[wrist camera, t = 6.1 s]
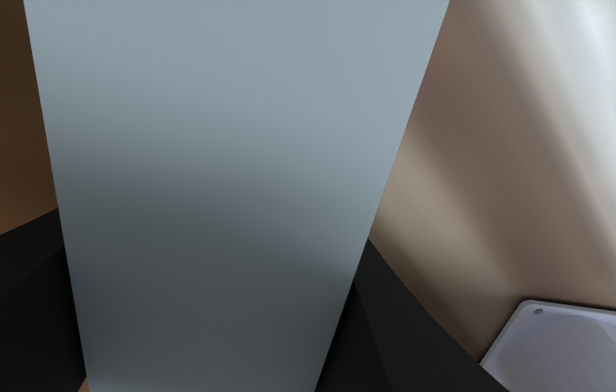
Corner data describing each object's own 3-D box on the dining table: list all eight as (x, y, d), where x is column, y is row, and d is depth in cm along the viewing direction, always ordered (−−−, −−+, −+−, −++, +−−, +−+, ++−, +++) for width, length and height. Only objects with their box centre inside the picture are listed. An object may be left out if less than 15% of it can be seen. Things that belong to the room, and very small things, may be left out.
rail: (175, -247, 6) (-99, -713, 2) (409, -182, 7) (603, -442, 2) (168, 361, 14) (112, 530, 10) (273, 372, 15) (263, 538, 10)
